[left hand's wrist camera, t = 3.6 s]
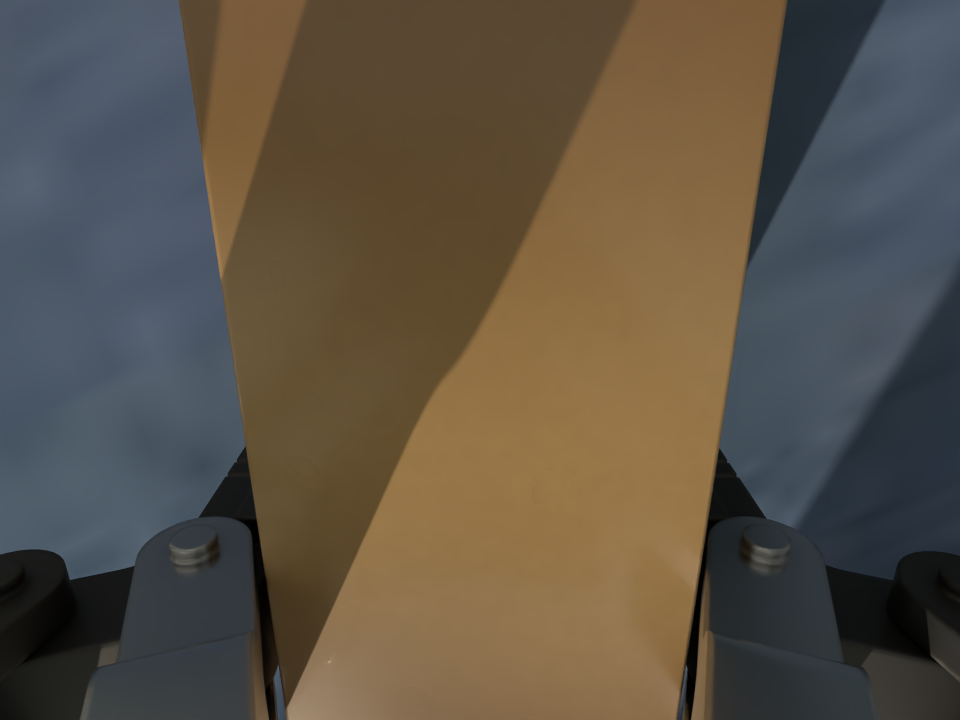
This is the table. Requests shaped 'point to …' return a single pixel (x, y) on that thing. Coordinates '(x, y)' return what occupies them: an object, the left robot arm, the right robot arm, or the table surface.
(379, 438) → the post
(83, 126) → the table surface
